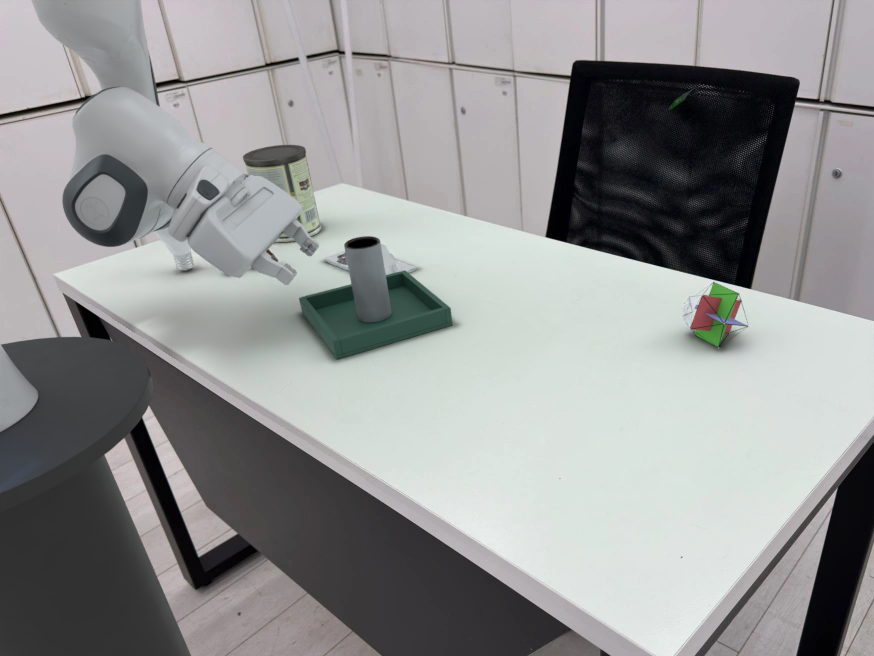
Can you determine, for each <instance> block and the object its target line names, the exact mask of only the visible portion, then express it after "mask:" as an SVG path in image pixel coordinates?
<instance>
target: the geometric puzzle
mask: <svg viewBox="0 0 874 656" xmlns="http://www.w3.org/2000/svg"><path fill="white" fill-rule="evenodd" d="M708 286H709V287H710V290H709V287H708ZM707 287H708V288H707ZM706 288H707V289H706V290H705V288H703V289H702V291H704V290H705V291H704V292H703V294H700V293H701V291H699V292H698V294H700V295H697V294H696V295H691V296H688V298H687V299H686V300H685V302H684V303H683V304H684V305H683V309H682V318H683V320H684V322H685V324H686V325H687V327H688V328H689V330H690V331H692V332H694V333H693V335H694V336H696V337H698V338H700V339H702V340H703V341H705V342H707V343H709V344H711V345H713V346H714V347H716V348H717V349H720V347H721V346H723V345H725V344H726V342H725V340H726V339H727V337H728V336H729V335H730V334H731V333H734V332H736V331H741V332H743V331H744V330H746V329H747V328H749V327H750V325H748V324H749V323H748V319H747V315H746V312H745V308H744V305H743V300H742V298H741V295H740V294H741V292H737V291H735V290H733V289H731V288H728V287H726V286H724V285H722V284H720V283H718V282H716V281H714V280H713V281H712V282H711V283H710V284H709V285H707V286H706ZM708 290H709V293H708V295H707V294H705V293H706V292H707V291H708ZM740 307H742V310H743V313H744V317H745V320H746V322H747V324H746V323H743V322H742V321H739V320H737V319H736V317H737V314H738V311H739V309H740ZM694 310H695V313H694V316H693V312H694ZM692 318H693V319H692ZM733 326H739V327H741V328H739V329H736V330H733V331H731V330H732V327H733ZM694 330H695V331H694ZM724 334H727V335H726V336H725V337H724ZM739 334H740V332H738V333H737V334H735V335H734V337H736V336H737V335H739ZM723 337H724V339H723ZM732 339H733V337H732V338H730V339H728V340H727V342H729V341H730V340H732Z"/></svg>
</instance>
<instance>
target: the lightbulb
mask: <svg viewBox="0 0 874 656" xmlns="http://www.w3.org/2000/svg"><path fill="white" fill-rule="evenodd" d="M152 233H153V234H154V236H155V237H156V238H157V239H158V240H159V241H161V242H162V244H164V245H165V246H166V248H167V249H168V252H169V253H170V254H171V255H172V257H173V260H174V263H175V266H176V269H177V270H179V271H184V272H188V271H191V270H192V269H193V268H194V266H195V262H194V259H193V255H192V252H191V250H192V248H191V247H190V246H189V244H188V241H187V240H186V241H184V242H180V241H178V240H176V239H175V238H173V237H172V236H171V235H170V234H169V233H168V227H167V228H165V229H161V230H157V231H154V232H152Z"/></svg>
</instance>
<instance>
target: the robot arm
mask: <svg viewBox="0 0 874 656" xmlns="http://www.w3.org/2000/svg"><path fill="white" fill-rule="evenodd" d="M31 3H32V5H33V9H34V11H35V13H36V17H37V18H38V21H39V23H40V24H41V26H42V27H43V28H44V29H45V30H46V31H47V32H48V33H49V34H50V36H52V37H53V38H54V39H55V40H56V41H58V42H59V43H60V44H61V45H62V46H64V47H66V48H67V49H69V50H70V51H71V52H73V53H74V54H75V55H76V56H77V57H79V58H80V59H81V60H82V61H83V62H84V63H85V64H86V65H87V66H88V67H89V68H90V70H91V71H92V73H93V74H94V76H95V78H96V79H97V81H98V83H99V86H100V89H101V90H99V91H98V92H96V93H94V94H92V95H91V96H90V97H89V98H87V99H86V100H85V101H84V102H83V103H82V104H81V105H80V107H78V109H76V111H75V114H74V116H73V118H72V122H71V125H72V129H73V133H74V137H75V151H74V158H73V159H74V160H73V164H72V170H71V171H70V172H71V173H70V176H69V179H68V182H67V184H66V185H65V187H64V189H63V193H62V198H61V199H62V202H61V203H62V209H63V213H64V215H65V218H66V220H67V221H68V222H69V224H70V226H71V227H72V228H73V229H74V231H75V232H76V233H77V234H78V235H80V237H82V238H83V239H85V240H86V241H88V242H90V243H92V244H94V245H97V246H99V247H100V246H101V247H105V248H115V247H120V246H123V245H127V244H130V243H132V242H134V241H136V240H139V239H141V238H144V237H146V236H148V235H149V234H152V233H153V232H154V231H157V230H161V229H165V228H167V227H168V233H169V234H170V235H171V236H172V237H173V238H175V239H176V240H178V241H180V242H184V241H186V240H187V241H188V244H189V246H190V247H191V250H192V251H193V252H195V254H196V255H198V256H199V257H200V258H202V259H204V260H205V261H206V262H207V263H209V264H210V265H211V266H213V267H214V268H216V269H217V270H219V271H220V272H222V273H223V274H224V275H227V276H229V277H232V278H237V279H241V278H242V276H244V275H245V274H246V273H247V272H248V271H249V270H250V268H252V269H254V270H255V271H256V272H258V273H259V274H262V275H265V276H268V277H271V278H275V279H276V280H278V281H279V282H280V283H282V284H283V285H285V286H289V284H291V282H292V281H293V280H294V278H295V277H296V276H297V274H298V272H297V270H296V269H295V268H293V267H292V266H291V265H290V264H288V263H287V262H286V263H285V264H283V263H281V262H279V261H278V262H276V261H274V260H272V259H271V255H269V254H268V253H267V252H266V251H267V250H268V249H269V250H270V248H271V247H272V246H273V245H274V244H275V243H277V242H276V241H277V240H278V238H279V237H280V236H281V235H282V234H283V233H284V234H285V235H287V236H288V237H289V238H293V239H294V240H295V241H294V242H296V243H297V244H298V246H299V247H300V248H299V251H300V252H302V253H304V254H305V255H306V256H307V257H312V256H313V255H314V254H315V253H316V252H317V250H318V249H319V248H320V244H319V242H317V241H316V240H315V238H313V237H312V236H311V237H310V235H309V234H308V232H307V231H306V229H305V228H304V226H303V225H302V224H301V223H300V222H299V221H297V220H296V219H297V217H298V216H299V215H300V213H301V212H302V210H303V209H302V207H301V205H300V204H299V202H298V201H297V200H296V199H294V198H293V197H292V196H290V195H289V194H288V193H286V192H285V191H284V190H282V189H281V188H279V187H278V186H276V185H275V184H273V183H272V182H270V181H269V180H267V179H265V178H263V177H261V176H253V175H248V173H245V172H243V171H242V170H241V169H239V167H237V166H236V165H234V164H233V163H232V162H231V161H229V160H228V159H227V158H226V157H225V156H223V155H222V154H221V153H219V152H218V151H217V150H216V149H215V148H213V147H212V146H210V145H209V144H206V143H205V142H202V141H200V140H199V139H197V138H195V137H194V136H193V135H192V134H191V133H190V132H189V131H188V129H187V128H186V127H185V126H184V124H182V122H180V121H179V120H178V119H176V118H175V117H174V116H173V115H172V114H170V113H169V112H167V111H166V110H165V109H163V108H162V107H161V105H160V100H159V95H158V89H157V88H158V87H157V83H156V78H155V73H154V69H153V68H154V67H153V64H152V58H151V55H150V50H149V46H148V41H147V34H146V30H145V23H144V16H143V7H142V0H31ZM37 400H38V391H37V390H36V388H35V387H34V386H33V385H32V384H31V383H30V382H29V381H28V380H27V379H26V378H25V377H24V376H23V375H22V374H21V372H20V371H19V370H18V369H17V367H16V366H15V365H14V363H13V362H12V361H11V359H10V358H9V356H8V355H7V353H6V352H5V350H4V349H3V347H2V346H1V343H0V432H2V431H3V430H5V429H7V428H9V427H10V426H12V425H13V424H15V423H16V422H18V421H19V420H20V419H22V418H23V417H24V416H25V415H27V414H28V413H29V412H30V411H31V410H32V408H33V407H34V406H35V404H36V402H37Z"/></svg>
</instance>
